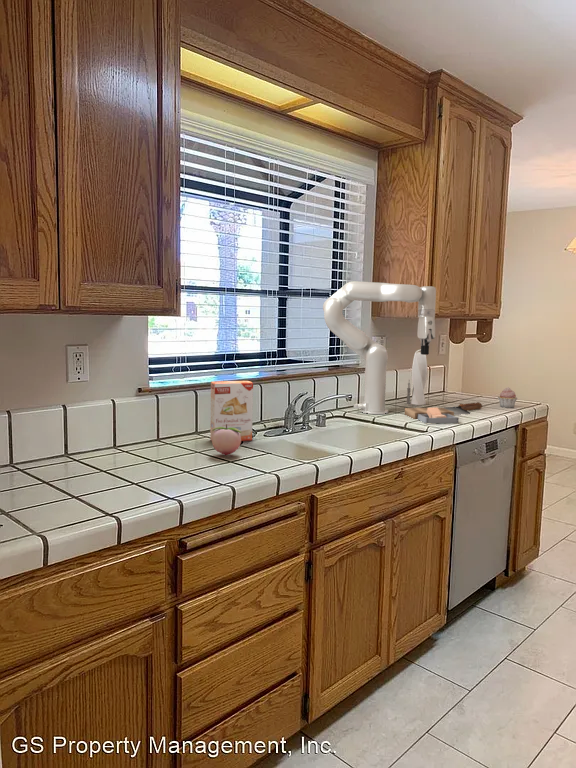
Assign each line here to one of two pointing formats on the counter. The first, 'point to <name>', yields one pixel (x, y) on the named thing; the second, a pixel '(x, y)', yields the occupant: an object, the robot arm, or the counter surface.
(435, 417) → the tile front
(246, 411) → the cracker box
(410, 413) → the board
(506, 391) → the cupcake
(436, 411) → the tile rear
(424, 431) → the counter surface
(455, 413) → the meat cleaver
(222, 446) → the decorative fruit
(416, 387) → the skyscraper
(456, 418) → the tray
